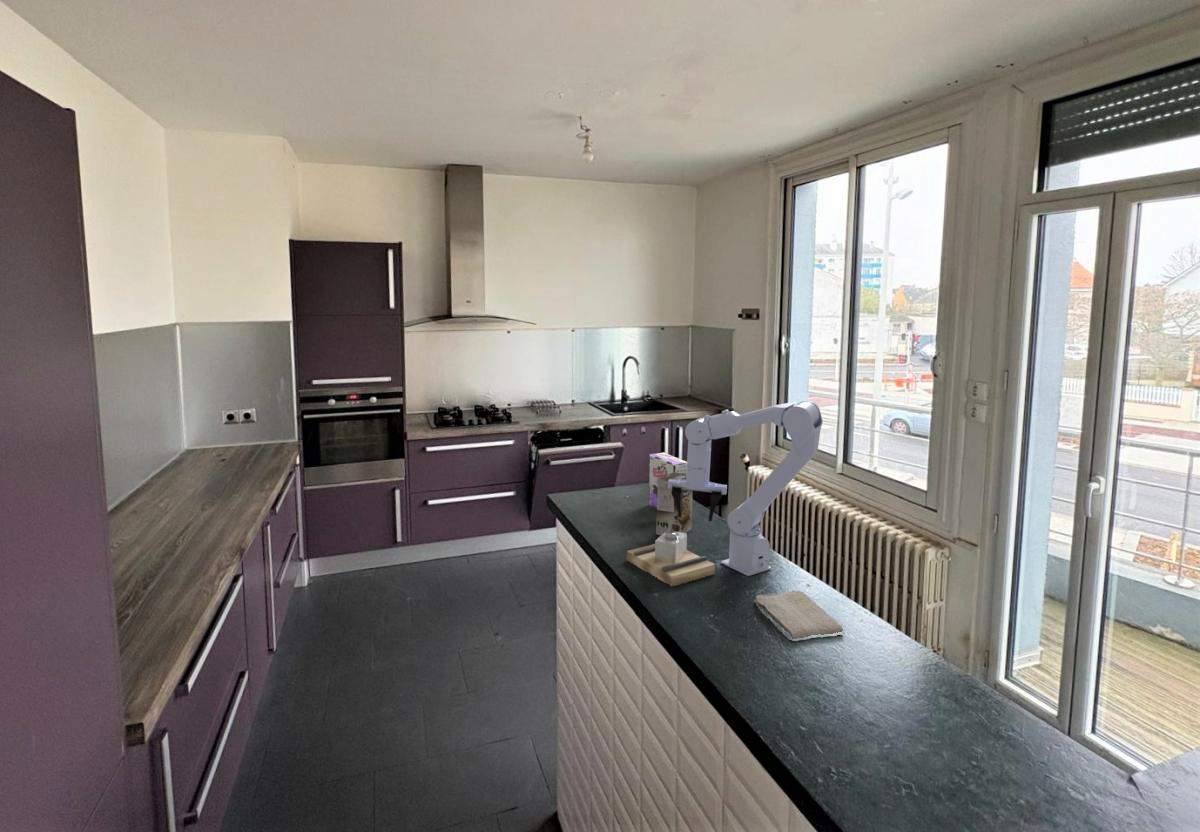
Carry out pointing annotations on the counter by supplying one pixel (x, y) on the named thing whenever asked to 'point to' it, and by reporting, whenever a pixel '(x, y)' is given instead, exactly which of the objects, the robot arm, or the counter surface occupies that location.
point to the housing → (671, 547)
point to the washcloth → (797, 614)
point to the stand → (671, 566)
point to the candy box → (662, 471)
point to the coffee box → (672, 507)
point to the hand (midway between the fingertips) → (695, 518)
